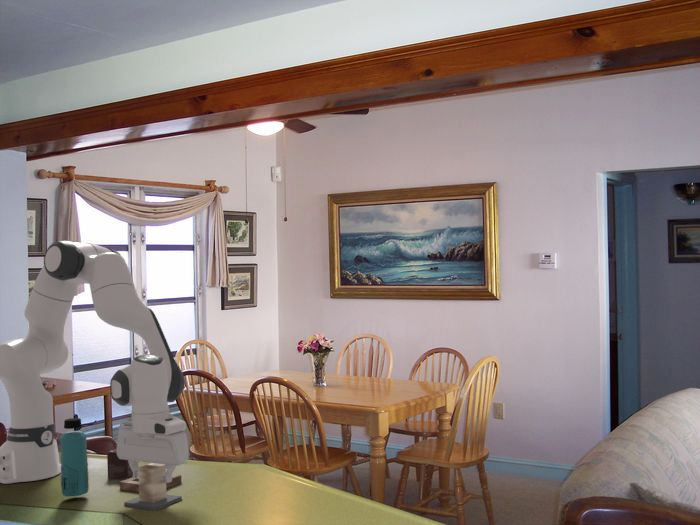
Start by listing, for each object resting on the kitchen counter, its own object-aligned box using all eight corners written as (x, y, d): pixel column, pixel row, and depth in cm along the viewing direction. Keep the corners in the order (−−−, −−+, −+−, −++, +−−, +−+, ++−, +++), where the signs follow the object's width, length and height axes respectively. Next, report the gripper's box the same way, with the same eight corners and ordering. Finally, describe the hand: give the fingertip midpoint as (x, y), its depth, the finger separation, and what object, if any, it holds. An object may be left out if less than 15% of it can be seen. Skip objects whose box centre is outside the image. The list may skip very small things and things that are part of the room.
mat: (124, 505, 181) (124, 502, 181) (150, 495, 189) (150, 492, 189) (155, 510, 176) (155, 507, 176) (181, 499, 184) (181, 496, 184)
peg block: (139, 500, 181) (138, 467, 182) (152, 495, 185) (151, 463, 186) (153, 502, 179) (152, 469, 179) (166, 497, 183) (165, 464, 183)
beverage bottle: (95, 496, 189) (92, 416, 190) (75, 504, 183) (72, 421, 184) (75, 494, 192) (73, 415, 193) (55, 501, 186) (52, 420, 187)
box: (127, 479, 205) (126, 452, 205) (107, 479, 206) (106, 452, 206) (138, 473, 211) (137, 447, 211) (118, 473, 212) (117, 447, 212)
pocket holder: (119, 489, 195) (119, 481, 195) (149, 478, 205) (149, 471, 205) (152, 494, 190) (151, 486, 190) (181, 482, 199) (181, 475, 199)
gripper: (109, 422, 185) (111, 479, 185) (173, 428, 175) (175, 487, 175) (128, 418, 190) (130, 473, 190) (191, 423, 181) (193, 481, 180)
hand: (152, 480), depth 182 cm, fingers open, 8 cm apart
